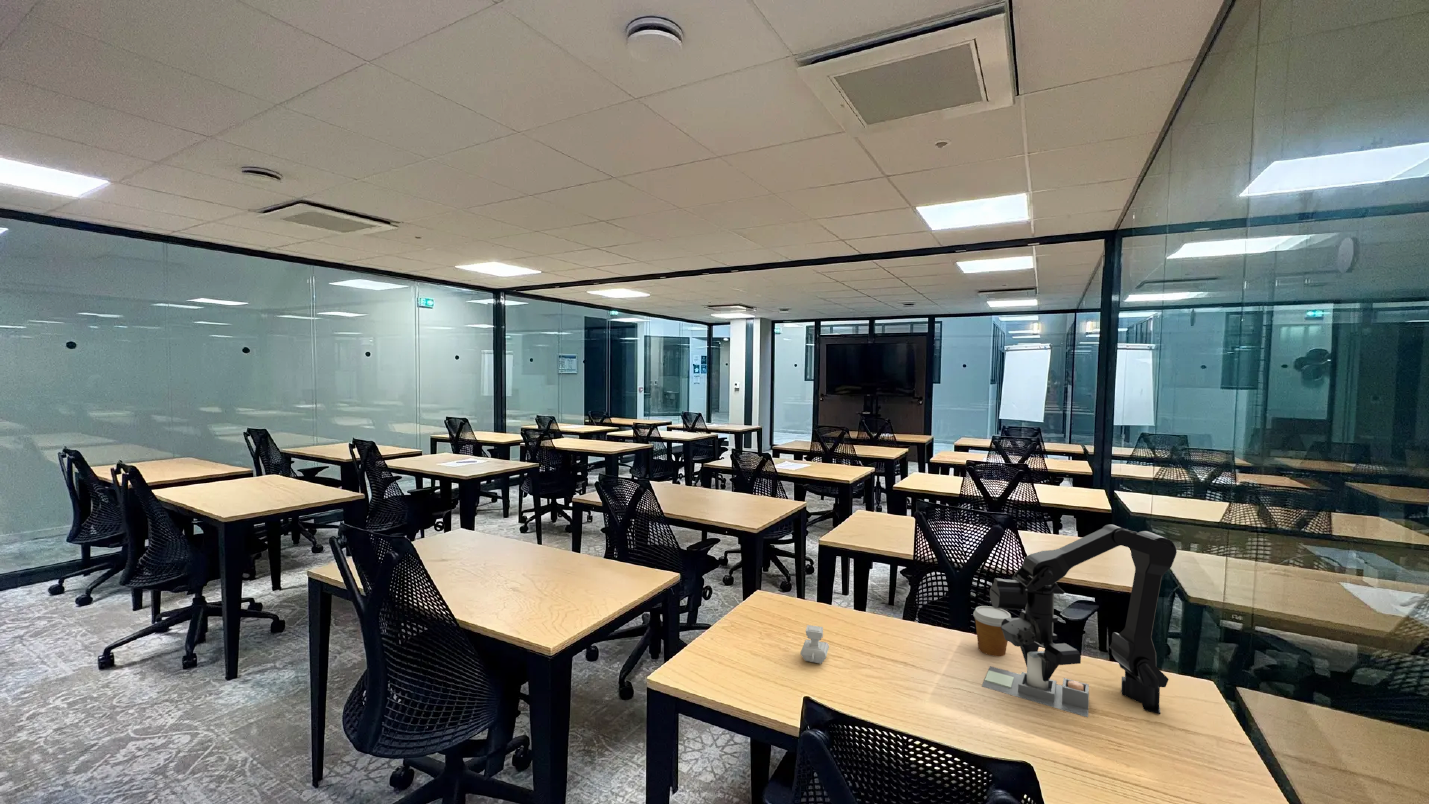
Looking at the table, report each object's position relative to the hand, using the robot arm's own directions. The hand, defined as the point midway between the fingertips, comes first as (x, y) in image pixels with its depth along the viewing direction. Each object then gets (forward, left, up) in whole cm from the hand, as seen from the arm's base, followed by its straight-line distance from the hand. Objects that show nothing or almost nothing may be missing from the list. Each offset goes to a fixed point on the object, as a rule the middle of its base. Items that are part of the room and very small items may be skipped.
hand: (1037, 675), depth 130 cm
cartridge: (0, 0, -2) cm, 2 cm away
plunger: (-7, 0, -3) cm, 8 cm away
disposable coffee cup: (+12, -16, -5) cm, 21 cm away
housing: (+1, 0, -5) cm, 5 cm away
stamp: (+50, +15, -5) cm, 52 cm away
